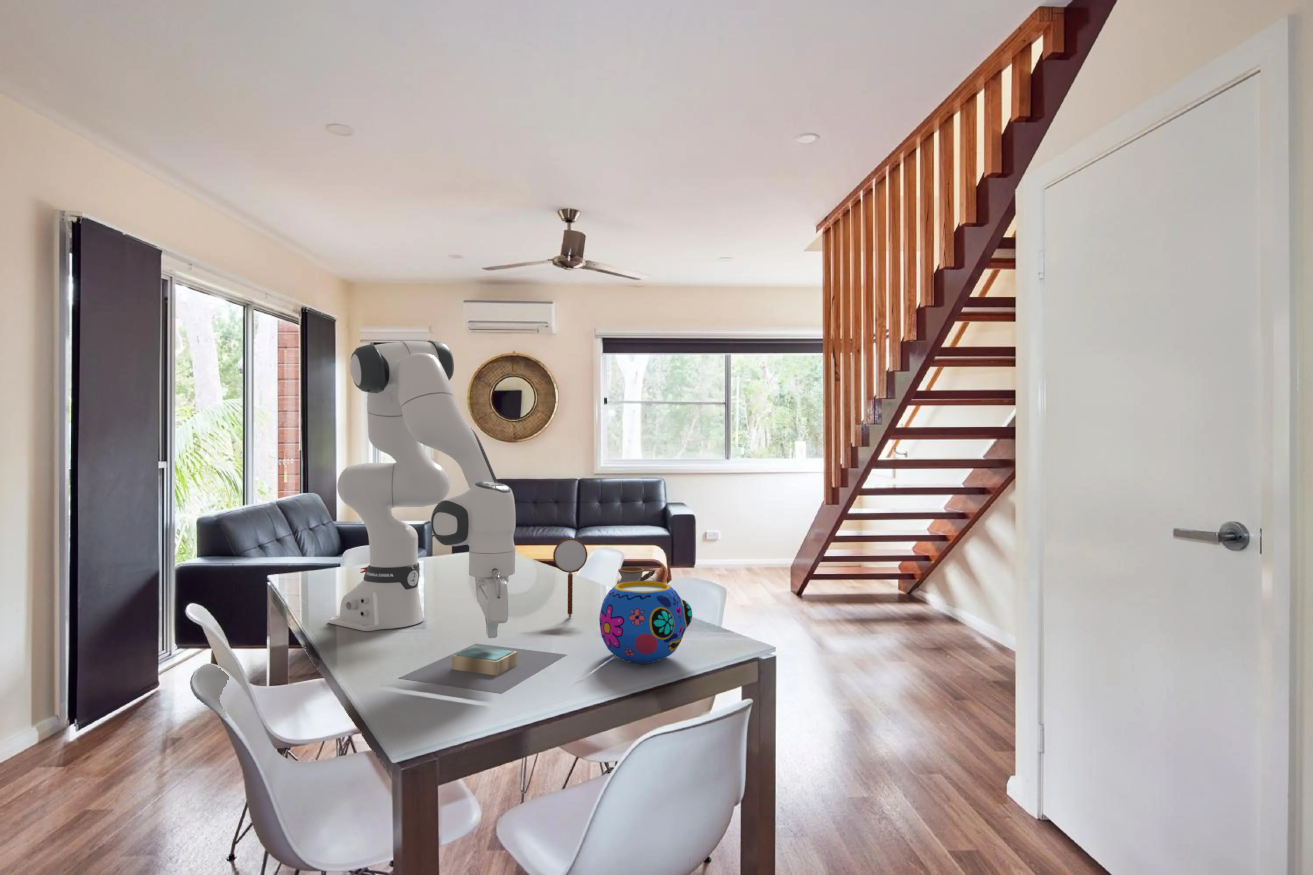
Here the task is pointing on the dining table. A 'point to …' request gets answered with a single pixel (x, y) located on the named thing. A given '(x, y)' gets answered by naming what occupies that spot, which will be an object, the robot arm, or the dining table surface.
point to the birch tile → (484, 660)
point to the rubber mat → (445, 675)
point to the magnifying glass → (570, 562)
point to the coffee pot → (634, 574)
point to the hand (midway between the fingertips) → (491, 636)
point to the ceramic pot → (643, 621)
